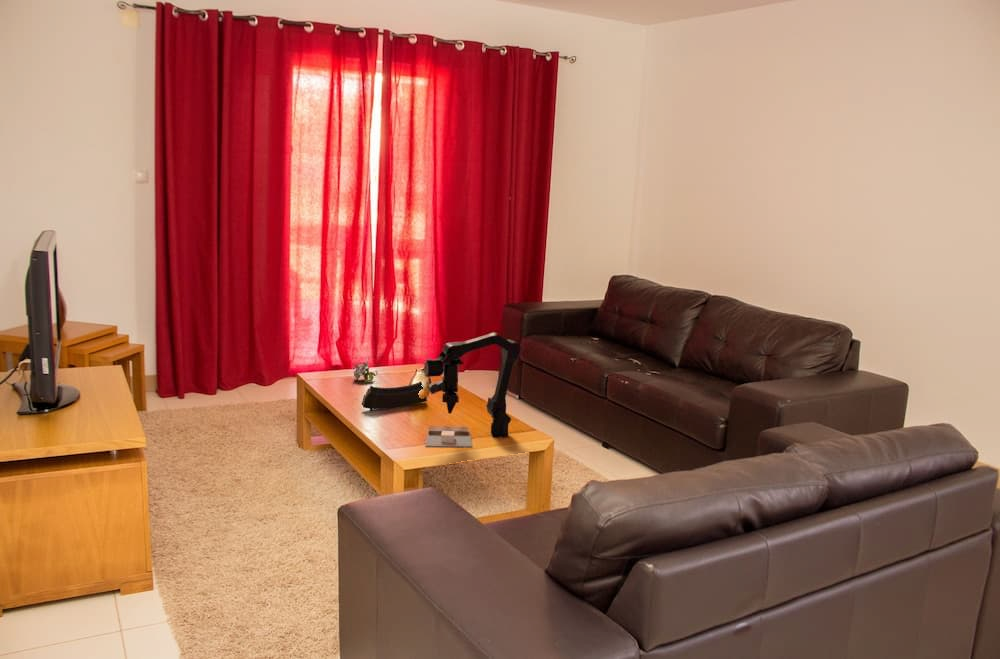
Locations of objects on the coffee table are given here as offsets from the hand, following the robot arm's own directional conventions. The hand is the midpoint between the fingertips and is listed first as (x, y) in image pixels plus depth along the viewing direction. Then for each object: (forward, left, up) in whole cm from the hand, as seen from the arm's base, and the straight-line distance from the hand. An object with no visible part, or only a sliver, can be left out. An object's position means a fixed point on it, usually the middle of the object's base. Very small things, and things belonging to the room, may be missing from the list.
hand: (449, 413), depth 324 cm
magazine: (+24, -42, -11) cm, 49 cm away
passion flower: (+41, -84, -11) cm, 95 cm away
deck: (0, -7, -11) cm, 13 cm away
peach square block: (+1, +2, -10) cm, 11 cm away
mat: (0, +2, -11) cm, 11 cm away
